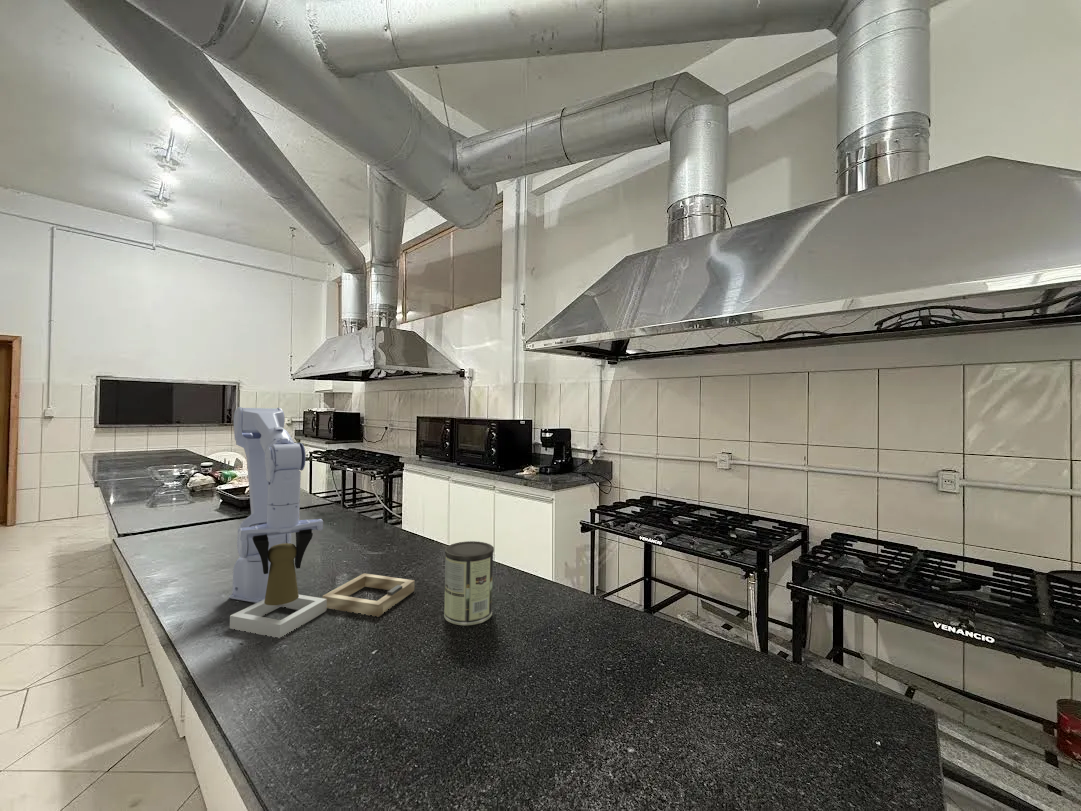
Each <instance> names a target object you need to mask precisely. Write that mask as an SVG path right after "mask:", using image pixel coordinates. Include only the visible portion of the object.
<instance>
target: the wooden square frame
mask: <svg viewBox="0 0 1081 811" xmlns="http://www.w3.org/2000/svg"><path fill="white" fill-rule="evenodd" d="M415 584H416V583H415V579H407V578H401V577H399V578H398V577H392V576H388V575H387V576H385V575H378V574H371V573H362V574H359V575H358V576H356V577H355V578H353V579H351V580H349V581H347V582H345V583H344V584H342V585H340V586H338V587H336V588H334V589H332V590H331V591H329V592H327V593H325V594H323V595H322V597H321V598H324V599H327V609H330V610H334V609H335V611H339V612H340V611H341V612H346V611H347V612H346V613H352V612H354V613H353V614H358V613H361V614H360V615H364V614H366V615H365V616H370V615H372V616H371V617H375V616H377V618H379V617H381V616H383V614H384V612H385V613H386V612H387V611H389V610H390V609H391V608H393V607H394V606H396V605H397V604H399V603H400V602H401V601H402V600H404V599H405V598H406V597H408V596H410V595H411V594H412V593H413V592H415ZM363 588H370V589H371V588H373V589H379V590H386V591H387V593H386V594H385V595H384V596H382V597H380V598H379V599H378V600H374V599H373V600H372V599H367V598H361V597H360V598H359V597H353V596H352V595H353V594H355V593H356V592H358V591H360V590H362V589H363ZM395 604H396V605H395ZM392 606H393V607H392ZM388 609H389V610H388Z"/></svg>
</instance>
